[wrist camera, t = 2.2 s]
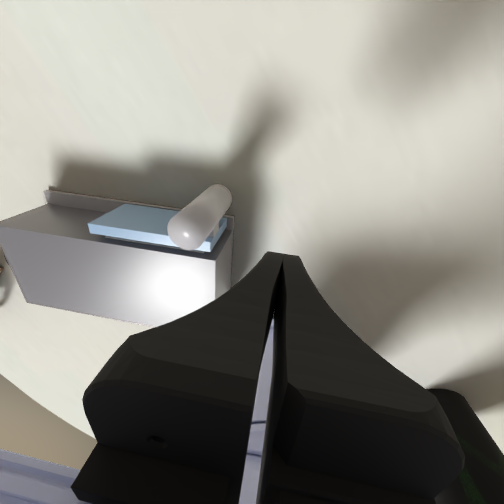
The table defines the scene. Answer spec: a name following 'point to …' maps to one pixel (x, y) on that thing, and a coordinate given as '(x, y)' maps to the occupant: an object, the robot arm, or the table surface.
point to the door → (170, 222)
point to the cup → (472, 456)
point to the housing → (109, 264)
